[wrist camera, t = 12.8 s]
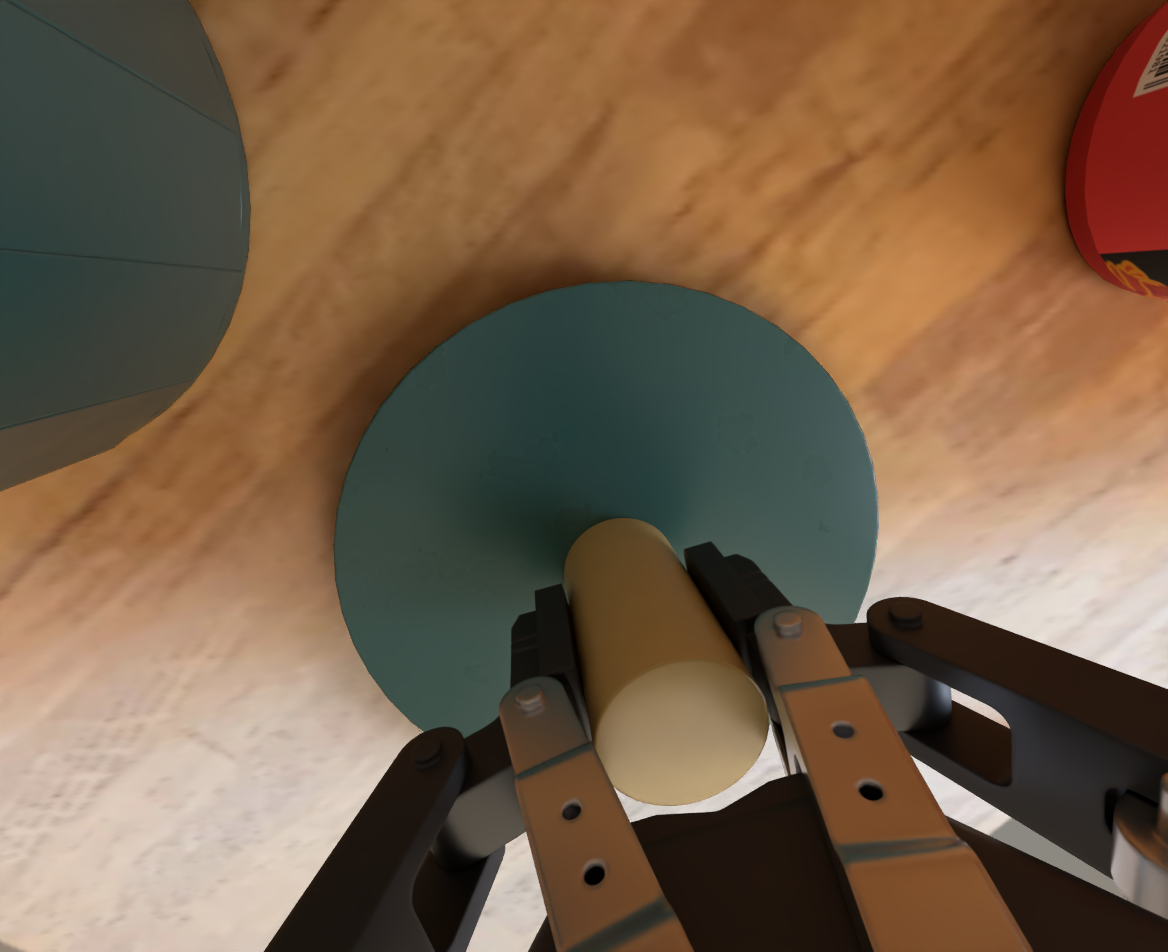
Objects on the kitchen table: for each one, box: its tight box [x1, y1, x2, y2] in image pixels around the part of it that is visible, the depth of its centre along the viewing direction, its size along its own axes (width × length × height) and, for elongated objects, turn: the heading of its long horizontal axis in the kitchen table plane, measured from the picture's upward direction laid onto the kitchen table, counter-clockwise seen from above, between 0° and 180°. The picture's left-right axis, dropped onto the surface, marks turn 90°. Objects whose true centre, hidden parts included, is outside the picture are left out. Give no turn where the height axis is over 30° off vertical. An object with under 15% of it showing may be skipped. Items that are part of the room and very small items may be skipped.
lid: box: [333, 280, 879, 806], centre depth 14 cm, size 16×16×8 cm
